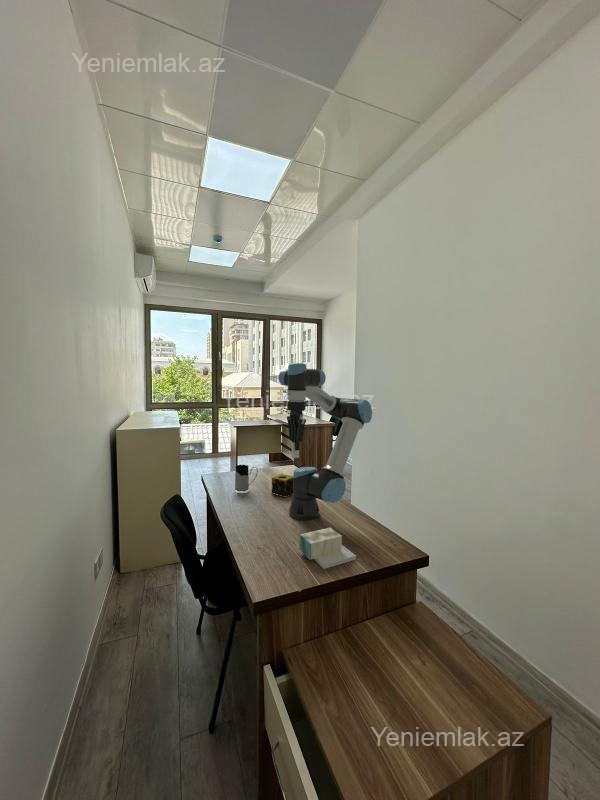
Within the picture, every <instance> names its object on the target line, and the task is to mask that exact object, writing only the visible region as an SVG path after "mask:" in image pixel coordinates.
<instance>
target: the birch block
mask: <svg viewBox="0 0 600 800" xmlns="http://www.w3.org/2000/svg"><path fill="white" fill-rule="evenodd" d="M342 540H343V535H341V534H340V533H339V532H337V531H336V530H334V529H333V528H332V527H327V528H322V529H318V530H313V531H309V532H305V533H301V534H299V548H298V549H299V551H300V552H301V553H302V554H303V555H304V556H305V557H306V558H307V559H308V560H309V561H312V560H314V559H315V558H318V557H322V556H326V555H329V554H333V553H337V552H340V551H341V550H342V545H343V541H342Z"/></svg>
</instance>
